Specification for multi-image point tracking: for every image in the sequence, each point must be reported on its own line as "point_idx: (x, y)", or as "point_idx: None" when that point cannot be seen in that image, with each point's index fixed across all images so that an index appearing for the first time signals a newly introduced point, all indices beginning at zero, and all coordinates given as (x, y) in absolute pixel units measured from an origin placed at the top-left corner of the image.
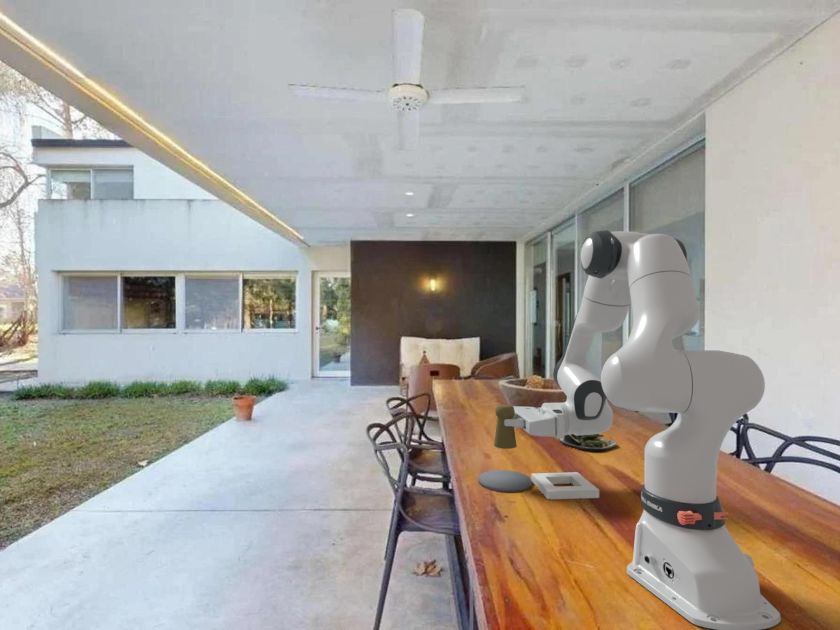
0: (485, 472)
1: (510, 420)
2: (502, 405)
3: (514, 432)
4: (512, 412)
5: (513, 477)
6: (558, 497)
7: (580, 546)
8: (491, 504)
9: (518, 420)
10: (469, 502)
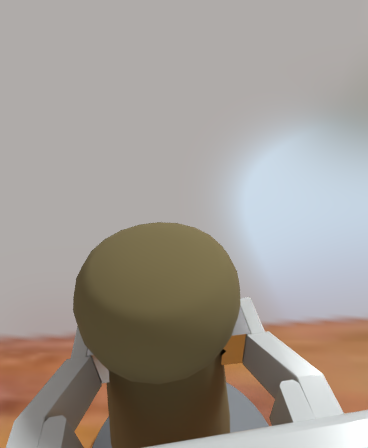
0: (240, 397)
1: (74, 356)
2: (134, 236)
3: (139, 445)
4: (83, 339)
5: None
6: None
7: None
8: (13, 402)
9: (20, 421)
10: (47, 347)
